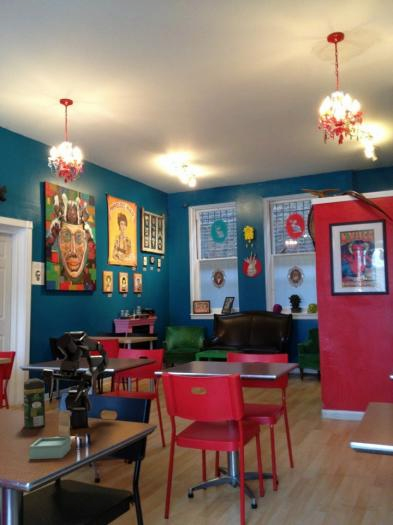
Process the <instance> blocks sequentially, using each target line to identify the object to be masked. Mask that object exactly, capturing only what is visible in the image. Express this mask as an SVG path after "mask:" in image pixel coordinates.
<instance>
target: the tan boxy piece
mask: <svg viewBox="0 0 393 525" xmlns="http://www.w3.org/2000/svg"><path fill="white" fill-rule="evenodd" d="M70 415H71V412H70V411H69V410H60V411H59V412H58V437H71V445H72V444H73V443H74V442H75V441H76V440H75V437H76V435H75V436H74V435H73V436H71V431H70V430H71V429H70V428H71V427H70ZM76 438H77V437H76Z"/></svg>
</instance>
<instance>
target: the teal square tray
mask: <svg viewBox="0 0 393 525" xmlns="http://www.w3.org/2000/svg"><path fill="white" fill-rule="evenodd" d="M71 445H72V444H71V437H59V436H55V437H54V436H53V437H40V438H38V439H37V440H36V441H34V443H32V444H30V445H29V460H40V459H41V460H42V459H45V460H46V459H48V460H49V459H63V458H64V457H65V456H66V454H67V453H68V452H70V450H71V448H72V446H71Z"/></svg>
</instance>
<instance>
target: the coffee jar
mask: <svg viewBox="0 0 393 525" xmlns="http://www.w3.org/2000/svg"><path fill="white" fill-rule="evenodd" d="M45 385H46V383H45V382H44V381H42V379H39V378H29V379H27V380H25V381H24V382H23V418H24V419H23V421H24V422H23V423H24V427H26V428H28V429H31V428H33V429H35V428H36V429H37V428H40V427H42V426H45V424H46V407H45V406H46V405H45V404H46V403H45V402H46V400H45V389H46V388H45Z"/></svg>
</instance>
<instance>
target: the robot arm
mask: <svg viewBox="0 0 393 525" xmlns="http://www.w3.org/2000/svg"><path fill="white" fill-rule="evenodd" d="M55 342H56V347H57V348H58V349H59V350H60V351H61V353H62V354H63V355H64V356H65V357H64V359H63V360H61V361H60V364H59V373H55V372H54V369H50V368H49V369H48V368H44V369H42V370H41V374H40V376H41V380H42V381H44V383H45V385H47V389H48V399H51V397H52V394H53V389H54V381H55V380H61V381H71V382H79V383H78V385H77V386H75V385H74V386H71V387H70V388H69V391H67V395H65V398H64V402H65V403H64V404H65V407H66V408H65V409H66V410H69V412H70V428H71V429H72V430H74V429H82V428H89V427H90V425H89V411H92V409H93V408H92V405H93V404H92V401H91V399H90V396H89V392H90V390H91V388H92V387H93V385H94V383H95V381H96V379H97V378H98V376H99V374H101V373H103V372H104V371H106V370H107V368H108V366H109V363H110V362H109V360H110V359H109V357H108V352H107V351H106V350H105V349H104V348H103V347H102V344H101V342H99V341H96V340H94V339H92V338H90V337H89V335H88V333H87V332H85V331H70V332H63V334H62V335H60V336H59V337H58V339H56V341H55ZM82 349H86V350H87V351H88V352H87V356H86V361H87V366H88V368H87V370H86V371H85V373H82V374H81V376H80V375H77V374H78V370H80V367H81V362H82V361H81V357H82V356H83V350H82ZM91 352H98V354H99V355H91ZM66 410H65V411H66Z"/></svg>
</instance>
